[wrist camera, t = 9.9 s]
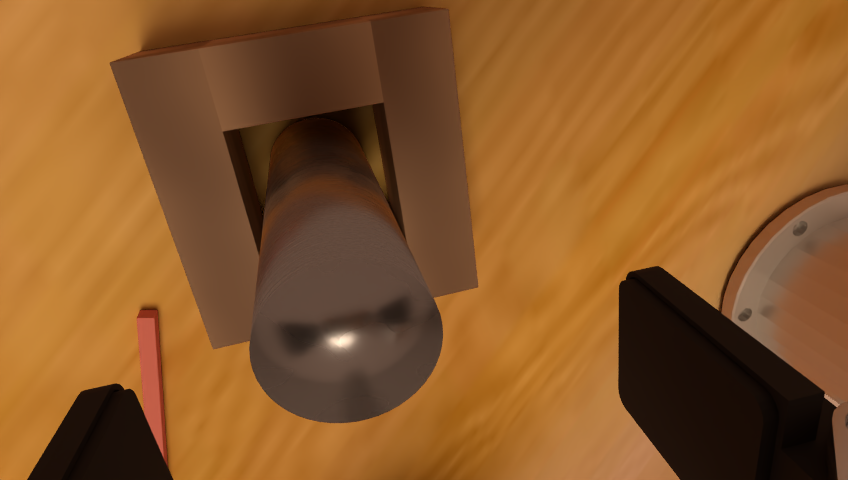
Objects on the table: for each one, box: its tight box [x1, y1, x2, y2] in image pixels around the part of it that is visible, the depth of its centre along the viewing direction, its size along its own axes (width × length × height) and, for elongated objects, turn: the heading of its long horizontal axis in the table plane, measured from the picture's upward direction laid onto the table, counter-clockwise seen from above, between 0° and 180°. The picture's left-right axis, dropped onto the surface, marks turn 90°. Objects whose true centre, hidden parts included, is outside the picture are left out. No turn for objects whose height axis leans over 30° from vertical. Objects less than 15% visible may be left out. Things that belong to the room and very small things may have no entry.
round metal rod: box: [249, 118, 443, 423], centre depth 18 cm, size 4×4×14 cm
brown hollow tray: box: [110, 7, 478, 349], centre depth 22 cm, size 11×11×4 cm
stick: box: [137, 310, 168, 467], centre depth 27 cm, size 10×1×1 cm, turn 173°
